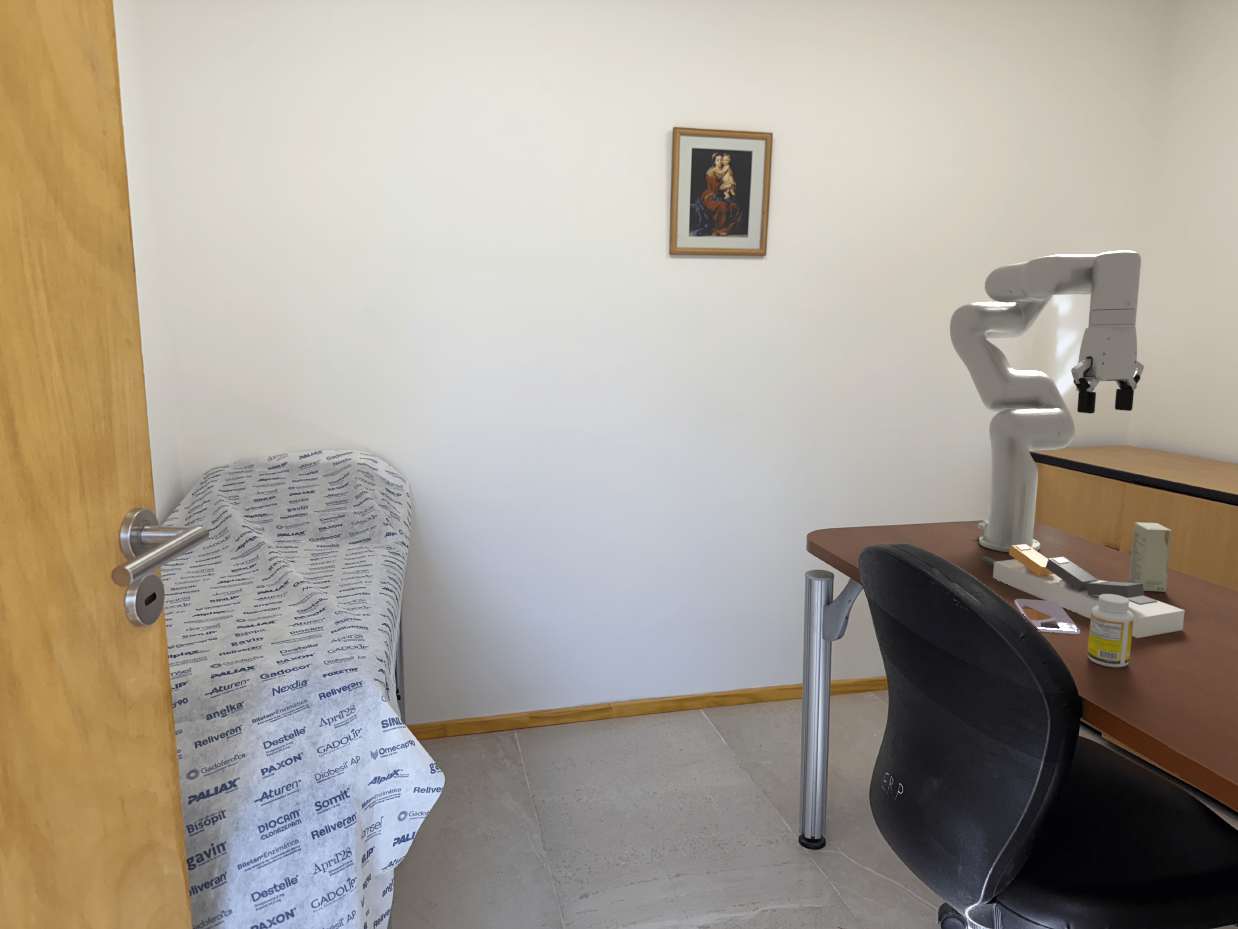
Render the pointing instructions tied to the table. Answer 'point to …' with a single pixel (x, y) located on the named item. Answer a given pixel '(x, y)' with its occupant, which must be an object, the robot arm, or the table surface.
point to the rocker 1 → (1030, 559)
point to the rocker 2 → (1070, 573)
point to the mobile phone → (1047, 616)
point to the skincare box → (1150, 556)
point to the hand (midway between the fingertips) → (1104, 411)
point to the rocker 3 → (1115, 588)
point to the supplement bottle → (1110, 631)
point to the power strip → (1088, 598)
